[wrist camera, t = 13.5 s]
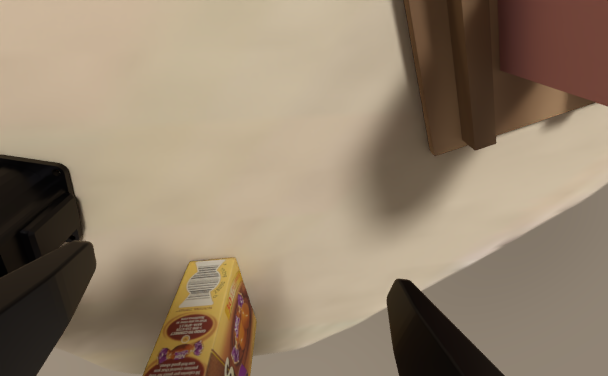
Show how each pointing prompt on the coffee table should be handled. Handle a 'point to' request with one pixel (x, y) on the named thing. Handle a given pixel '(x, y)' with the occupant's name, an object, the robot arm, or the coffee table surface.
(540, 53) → the pink tall block
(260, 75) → the coffee table surface
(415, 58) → the book trough
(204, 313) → the candy box
